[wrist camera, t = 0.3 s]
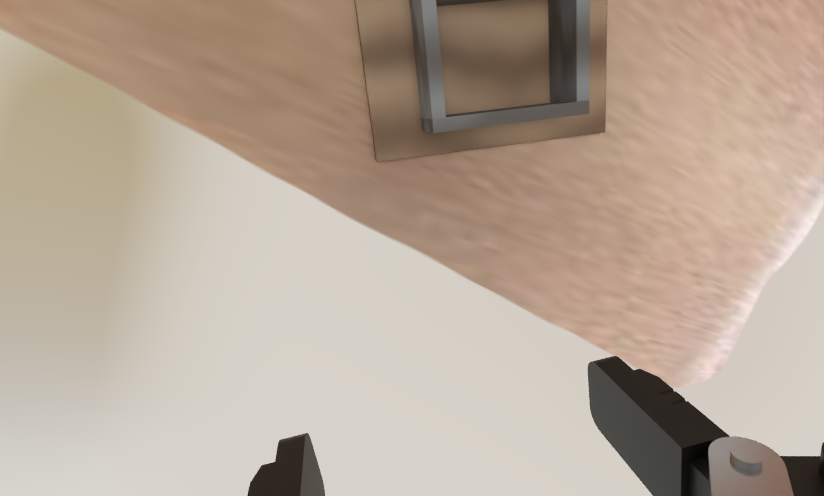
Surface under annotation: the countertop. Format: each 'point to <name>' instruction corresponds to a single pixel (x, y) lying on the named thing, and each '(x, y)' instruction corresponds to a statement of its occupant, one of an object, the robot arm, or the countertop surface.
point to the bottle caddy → (481, 72)
